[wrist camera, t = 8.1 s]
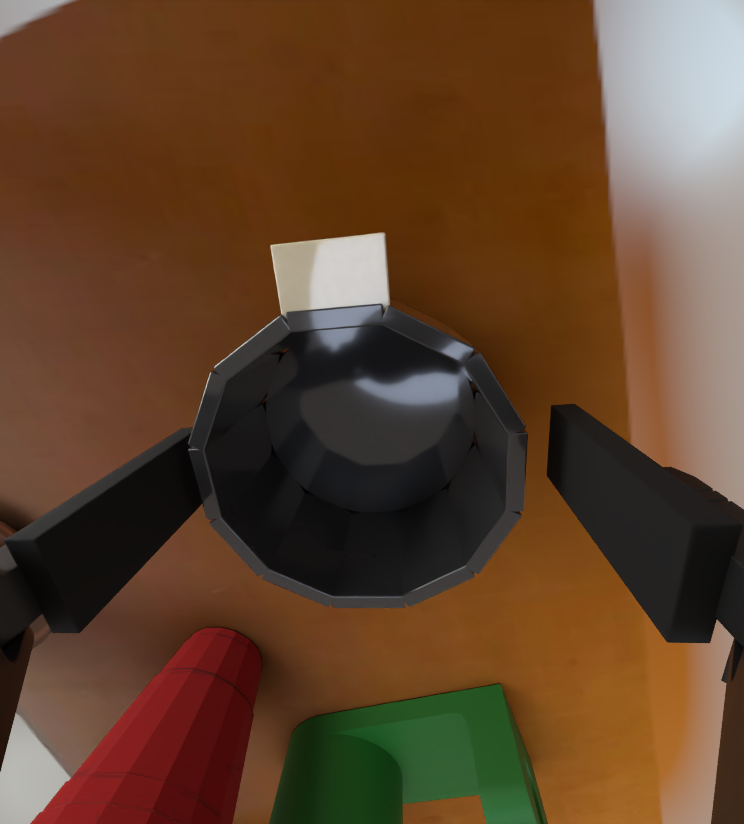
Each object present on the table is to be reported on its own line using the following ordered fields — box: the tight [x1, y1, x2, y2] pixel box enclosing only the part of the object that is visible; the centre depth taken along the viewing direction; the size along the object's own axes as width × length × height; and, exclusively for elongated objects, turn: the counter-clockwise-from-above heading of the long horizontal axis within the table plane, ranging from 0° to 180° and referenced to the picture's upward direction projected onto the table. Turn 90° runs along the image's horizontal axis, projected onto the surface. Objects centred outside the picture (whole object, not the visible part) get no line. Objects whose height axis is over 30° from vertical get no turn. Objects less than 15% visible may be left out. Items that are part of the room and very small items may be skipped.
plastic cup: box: [31, 628, 262, 824], centre depth 20 cm, size 11×11×12 cm
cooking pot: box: [188, 233, 528, 608], centre depth 14 cm, size 13×11×6 cm
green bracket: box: [269, 684, 548, 824], centre depth 24 cm, size 18×9×6 cm, turn 111°
